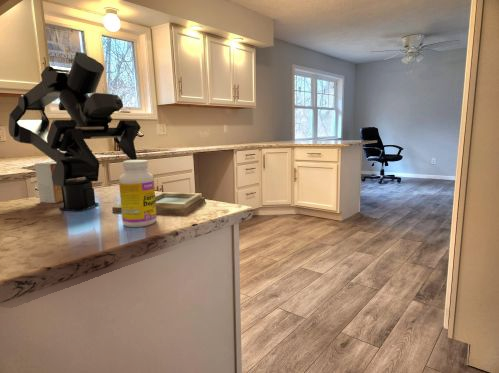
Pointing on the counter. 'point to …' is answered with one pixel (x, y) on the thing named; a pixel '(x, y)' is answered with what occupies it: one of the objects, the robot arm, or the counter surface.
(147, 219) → the supplement bottle
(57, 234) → the counter surface
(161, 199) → the brown shallow tray
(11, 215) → the counter surface
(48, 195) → the small box
